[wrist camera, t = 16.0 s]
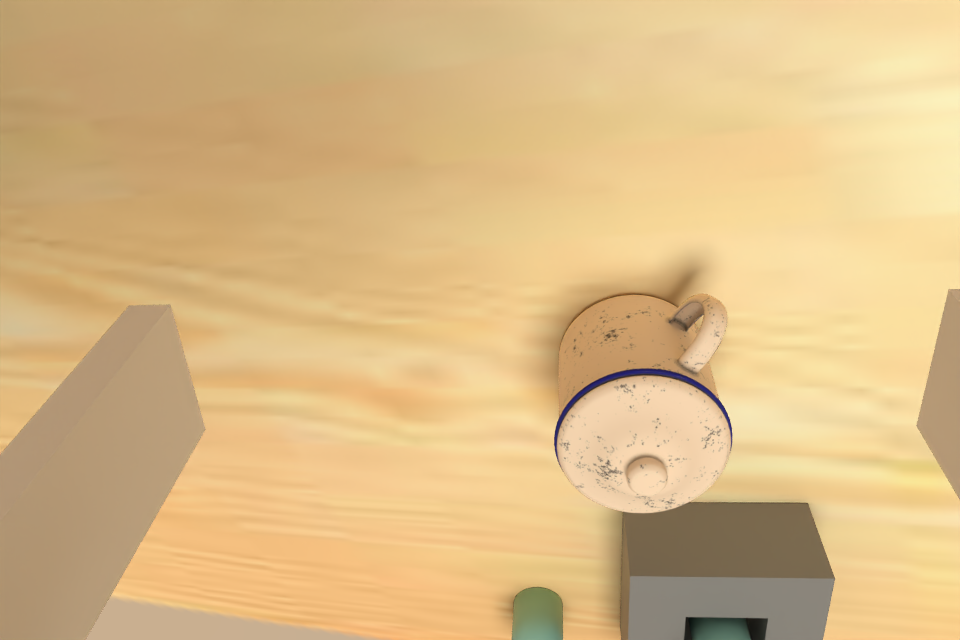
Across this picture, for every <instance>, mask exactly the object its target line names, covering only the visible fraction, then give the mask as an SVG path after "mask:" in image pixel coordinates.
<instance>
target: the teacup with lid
mask: <svg viewBox="0 0 960 640" xmlns="http://www.w3.org/2000/svg"><path fill="white" fill-rule="evenodd" d="M702 315H704V318H703V322H702V325H701V327H700V330H698V328H697V327H696V325H695V324H694V323H695V322H696V321H697V320H698V319H699V318H700V317H701V316H702ZM726 327H727V312H726V309H725V307H724V305H723V304H722V303H721V302H720V301H719V300H717V299H716V298H714V297H712V296H710V295H707V294H697V295H694V296H692V297H690V298H689V299H687V300H686V301H685V302H684V303H682V304H681V305H680V306H679V307H676V306H674V305H673V304H671V303H669V302H667V301H664V300H661V299H658V298H655V297H650V296H644V295H624V296H618V297H613V298H609V299H606V300H604V301H601V302H599V303H597V304H595V305H593V306H591V307H589V308H588V309H587V310H585V311H584V312H583V313H581V314H580V315H579V316H578V317H577V318H576V319H575V320H574V321H573V322H572V324H571V325H570V326H569V328H568V329H567V331H566V333H565V335H564V337H563V339H562V342H561V346H560V350H559V420H558V422H557V426H556V430H555V437H554V445H555V452H556V456H557V460H558V462H559V465H560V467H561V469H562V470H563V472H564V474H565V475H566V477H567V478H568V480H569V481H570V482H571V484H572V485H573V486H574V487H575V488H576V489H577V490H578V491H579V492H581V493H582V494H583V495H584V496H586V497H587V498H589V499H590V500H592V501H594V502H596V503H598V504H600V505H602V506H605V507H607V508H610V509H614V510H618V511H623V512H629V513H654V512H661V511H666V510H670V509H673V508H676V507H679V506H682V505H684V504H686V503H688V502H690V501H692V500H694V499H696V498H697V497H699V496H700V495H702V494H703V493H704V492H705V491H706V490H708V489H709V488H710V487H711V486H712V485H713V484H714V482H715V481H716V480H717V479H718V477H719V476H720V475H721V473H722V472H723V470H724V468H725V466H726V464H727V461H728V458H729V455H730V451H731V446H732V427H731V423H730V419H729V417H728V414H727V412H726V410H725V408H724V406H723V405H722V403H721V402H720V401H719V398H718V394H717V390H716V387H715V383H714V380H713V376H712V372H711V369H710V365H709V360H710V358H711V357H712V356H713V354H714V353H715V351H716V350H717V348H718V347H719V345H720V343H721V341H722V339H723V336H724V333H725V331H726Z"/></svg>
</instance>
